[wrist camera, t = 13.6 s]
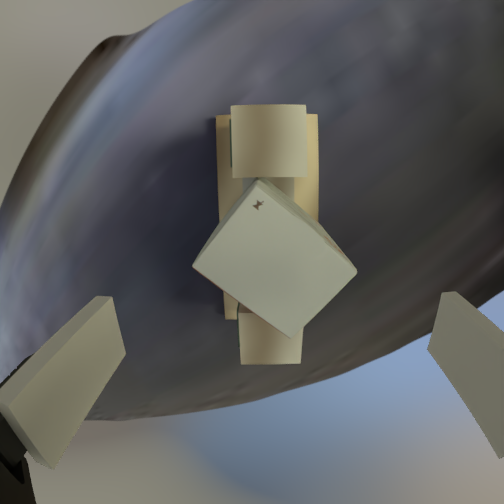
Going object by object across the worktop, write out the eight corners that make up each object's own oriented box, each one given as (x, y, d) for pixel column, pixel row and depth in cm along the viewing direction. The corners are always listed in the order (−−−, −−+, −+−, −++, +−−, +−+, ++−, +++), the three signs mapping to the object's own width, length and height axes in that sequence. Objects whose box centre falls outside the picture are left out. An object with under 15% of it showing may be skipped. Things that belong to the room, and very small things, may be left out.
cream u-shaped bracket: (315, 115, 28) (341, 93, 18) (312, 314, 34) (328, 370, 24) (217, 117, 28) (194, 95, 18) (226, 314, 35) (212, 372, 24)
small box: (219, 222, 30) (187, 266, 17) (259, 172, 28) (255, 179, 16) (281, 271, 31) (291, 342, 19) (322, 225, 29) (361, 270, 17)
